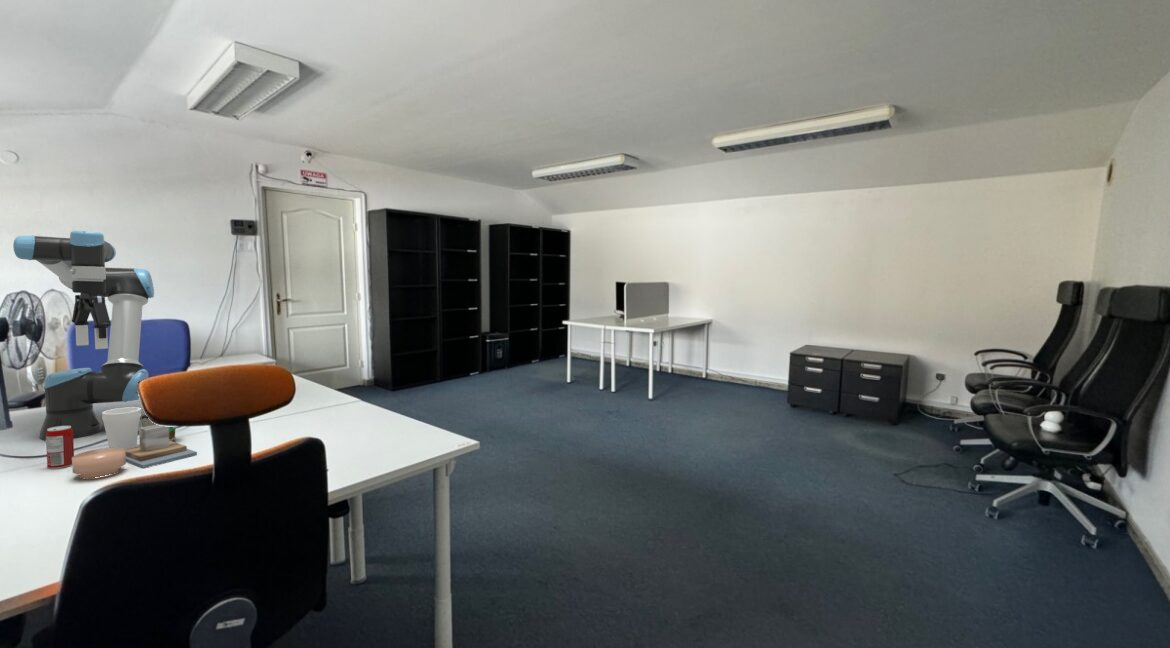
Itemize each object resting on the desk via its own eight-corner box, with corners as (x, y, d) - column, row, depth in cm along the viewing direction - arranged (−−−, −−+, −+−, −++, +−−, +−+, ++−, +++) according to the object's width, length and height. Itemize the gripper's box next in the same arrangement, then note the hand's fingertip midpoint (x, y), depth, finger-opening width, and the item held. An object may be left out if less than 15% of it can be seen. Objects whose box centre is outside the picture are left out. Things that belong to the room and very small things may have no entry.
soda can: (73, 461, 150) (71, 423, 149) (75, 466, 147) (73, 427, 146) (46, 466, 146) (44, 427, 145) (48, 470, 143) (46, 430, 142)
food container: (188, 438, 174) (187, 411, 174) (172, 444, 168) (171, 416, 168) (157, 436, 176) (156, 409, 175) (140, 442, 169) (139, 414, 169)
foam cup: (98, 454, 156) (96, 415, 155) (110, 446, 164) (108, 408, 163) (136, 451, 161) (135, 412, 160) (146, 443, 169) (145, 406, 168)
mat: (112, 456, 155) (112, 453, 155) (165, 444, 168) (165, 441, 168) (143, 468, 147) (143, 465, 147) (196, 454, 159) (196, 451, 159)
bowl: (65, 476, 139) (64, 455, 139) (115, 464, 149) (115, 445, 149) (82, 484, 134) (81, 463, 134) (133, 471, 144) (132, 451, 144)
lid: (122, 454, 154) (121, 428, 154) (167, 444, 165) (166, 419, 165) (140, 461, 149) (139, 434, 149) (186, 450, 160) (185, 425, 159)
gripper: (55, 279, 156) (59, 344, 158) (90, 281, 145) (93, 351, 147) (87, 279, 163) (90, 342, 164) (123, 281, 152) (125, 349, 153)
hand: (91, 347), depth 155 cm, fingers open, 13 cm apart
